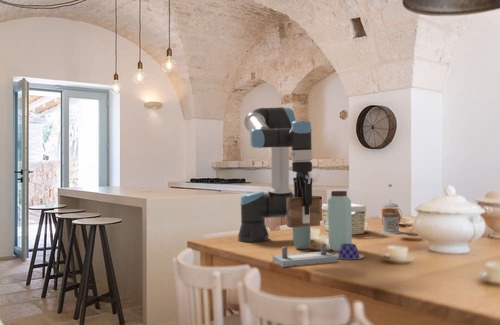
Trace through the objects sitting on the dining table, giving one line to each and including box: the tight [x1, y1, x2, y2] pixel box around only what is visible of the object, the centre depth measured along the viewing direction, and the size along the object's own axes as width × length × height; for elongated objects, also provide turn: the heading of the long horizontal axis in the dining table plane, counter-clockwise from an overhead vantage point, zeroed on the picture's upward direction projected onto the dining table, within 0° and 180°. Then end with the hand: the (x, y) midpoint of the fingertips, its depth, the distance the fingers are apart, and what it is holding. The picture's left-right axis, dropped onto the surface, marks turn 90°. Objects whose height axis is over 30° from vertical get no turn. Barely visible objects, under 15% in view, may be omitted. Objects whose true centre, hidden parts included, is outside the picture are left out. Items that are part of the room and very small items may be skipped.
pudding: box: [334, 243, 365, 260], centre depth 187 cm, size 12×12×5 cm
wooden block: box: [286, 195, 321, 229], centre depth 181 cm, size 4×12×11 cm, turn 107°
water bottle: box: [327, 190, 353, 252], centre depth 203 cm, size 10×10×25 cm
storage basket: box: [321, 202, 367, 236], centre depth 251 cm, size 24×16×15 cm
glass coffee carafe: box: [381, 207, 402, 225], centre depth 274 cm, size 9×12×9 cm
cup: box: [292, 226, 311, 250], centre depth 208 cm, size 8×8×10 cm
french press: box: [381, 183, 403, 235], centre depth 246 cm, size 10×12×25 cm
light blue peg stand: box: [272, 243, 338, 268], centre depth 182 cm, size 11×22×6 cm, turn 106°
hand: (303, 222), depth 181 cm, fingers closed on wooden block, 4 cm apart
